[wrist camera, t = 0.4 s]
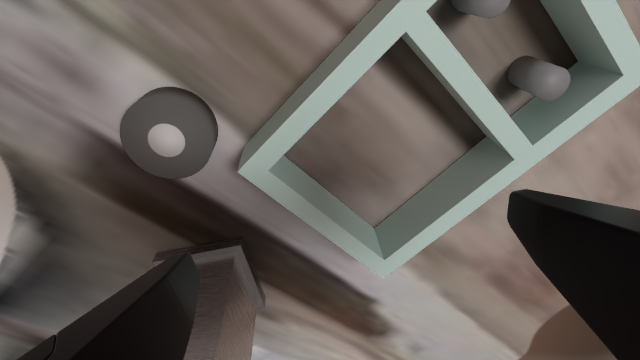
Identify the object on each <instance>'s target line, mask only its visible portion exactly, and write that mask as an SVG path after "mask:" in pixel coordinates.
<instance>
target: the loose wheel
mask: <svg viewBox="0 0 640 360" xmlns="http://www.w3.org/2000/svg"><path fill="white" fill-rule="evenodd" d="M217 137H218V125H217V121H216V118H215V116H214V114H213V112H212V110H211V109H210V107H209V106H208V105H207V104H206V103H205V102H204V101H203V100H202V99H201V98H200V97H198V96H197V95H195V94H194V93H192V92H190V91H187V90H185V89H181V88H177V87H161V88H157V89H154V90H152V91H150V92H148V93H147V94H145V95H144V96H143V97H142V98H140V99H139V100H138V101H137V102H136V103H134V104H133V105H132V106H131V107H130V108H129V109H128V110H127V111H126V113H125V114H124V116H123V118H122V121H121V125H120V138H121V142H122V145H123V147H124V149H125V151H126V153H127V154H128V156H129V157H130V158H131V160H132V161H133V162H134V163H135V164H136V165H138V166H139V167H140V168H142V169H143V170H145V171H146V172H148V173H150V174H153V175H155V176H158V177H162V178H168V179H179V178H185V177H188V176H191V175H193V174H195V173H197V172H198V171H200V170H201V169H202V168H203V167H204V166H205V165H206V163H207V162H208V160H209V158H210V156H211V153H212V151H213V149H214V146H215V144H216V141H217Z"/></svg>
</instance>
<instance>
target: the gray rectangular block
mask: <svg viewBox="0 0 640 360" xmlns="http://www.w3.org/2000/svg"><path fill="white" fill-rule="evenodd" d="M182 252H188V253H190V254H191V256H192V258H193V260H194V262H195V264H196V267H197V269H198V271H199V274H200V288H199V294H198V300H197V306H196V313H195V319H194V324H193V328H192V332H191V336H190V339H189V343H188V346H187V349H186V353H185V356H184V360H251V355H252V345H253V336H254V326H255V317H256V309H258V308H263V307H265V295H264V293H263V290H262V287H261V285H260V282H259V279H258V277H257V274H256V271H255V269H254V266H253V263H252V261H251V258H250V255H249V253H248V250H247V248H246V245H245V242H244V240H243V237H242V236H241V237H236V238H231V239H226V240H221V241H216V242H211V243H206V244H201V245H196V246H191V247H185V248H180V249H175V250H170V251H165V252H160V253H157V254H156V256H155V258H154V260H153V262H152V263H153V265H154V266H155V267H156V266H157V265H159V264H160V263H162V262H163V261H165V260H166V259H168V258H169V257H170V256H172V255H174V254H177V253H182Z"/></svg>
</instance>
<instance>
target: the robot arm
mask: <svg viewBox="0 0 640 360" xmlns="http://www.w3.org/2000/svg"><path fill="white" fill-rule="evenodd" d="M507 219H508V223H509V225H510V227H511V228H512V230H513V231H514V233H515V234H516V236H517V237H518V239H519V240H520V242H521V243H522V245H523V246H524V248H525V249H526V251H527V252H528V254H529V255H530V257H531V258H532V259H533V261H534V262H535V264H536V265H537V266H538V267H539V269H540V270H541V271H542V272H543V273H544V274H545V276H546V277H547V278H548V279H549V280H550V281H551V283H552V284H553V285H554V286H555V287H556V288H557V290H558V291H559V292H560V293H561V294H562V295H563V297H564V298H565V299H566V300H567V301H568V302H569V304H570V305H571V306H572V307H573V308H574V309H575V310H576V312H577V313H578V314H579V315H580V316H581V318H582V319H583V320H584V321H585V322H586V323H587V324H588V325H589V327H590V328H591V329H592V330H593V332H594V333H595V334H596V335H597V336H598V337H599V339H600V340H601V341H602V342H603V343H604V344H605V345H606V347H607V348H608V349H609V350H610V351H611V353H612V354H613V355H614V356H615V357H616V358H617V359H618V360H640V211H639V210H634V209H629V208H624V207H618V206H613V205H608V204H602V203H597V202H592V201H586V200H581V199H576V198H571V197H565V196H560V195H555V194H549V193H544V192H539V191H534V190H528V189H523V190H518V191H513V192H512V193H511V194H510V196H509V204H508V212H507ZM199 288H200V274H199V271H198V269H197V267H196V264H195V262H194V260H193V258H192V256H191V254H190V253H188V252H182V253H177V254H174V255H172V256H170V257H169V258H168V259H166V260H165V261H163V262H162V263H160V264H159V265H157V266H156V267H154V268H153V269H151V270H150V271H148V272H147V273H145V274H144V275H142V276H141V277H139V278H138V279H136V280H135V281H133V282H132V283H130V284H129V285H128V286H126V287H125V288H123V289H122V290H120V291H119V292H117V293H116V294H114V295H113V296H111V297H110V298H108V299H107V300H105V301H104V302H102V303H101V304H99V305H98V306H96V307H95V308H93V309H92V310H90V311H89V312H87V313H86V314H85V315H83V316H82V317H80V318H79V319H77V320H76V321H74V322H73V323H71V324H70V325H68V326H67V327H65V328H64V329H62V330H61V331H59V332H58V333H57V336H56V335H52V336H51V337H49V338H48V339H46V340H45V341H44V342H42V343H41V344H39V345H38V346H36V347H35V348H33V349H31V350H30V351H28V352H27V353H25V354H24V355H22V356H21V357H19V358H18V359H16V360H184V356H185V353H186V349H187V346H188V343H189V339H190V336H191V332H192V328H193V324H194V319H195V313H196V306H197V300H198V294H199Z"/></svg>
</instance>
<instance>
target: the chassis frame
mask: <svg viewBox="0 0 640 360" xmlns="http://www.w3.org/2000/svg"><path fill="white" fill-rule="evenodd" d="M436 1H437V0H380V1H379V2H378V3H377V4H376V5H375V6H374V7H373V8H372V9H371V11H370V12H369V13H368V14H367V15H366V16H365V17H364V18H363V19H362V20H361V21H360V22H359V23H358V25H357V26H356V27H355V28H354V29H353V30H352V31H351V32H350V33H349V34H348V35H347V36H346V37H345V38H344V40H343V41H342V42H341V43H340V44H339V45H338V46H337V47H336V48H335V49H334V50H333V51H332V52H331V53H330V55H329V56H328V57H327V58H326V59H325V60H324V61H323V62H322V63H321V64H320V65H319V66H318V67H317V68H316V70H315V71H314V72H313V73H312V74H311V75H310V76H309V77H308V78H307V79H306V80H305V81H304V82H303V84H302V85H301V86H300V87H299V88H298V89H297V90H296V91H295V92H294V93H293V94H292V95H291V96H290V97H289V99H288V100H287V101H286V102H285V103H284V104H283V105H282V106H281V107H280V108H279V109H278V110H277V111H276V112H275V114H274V115H273V116H272V117H271V118H270V119H269V120H268V121H267V122H266V123H265V124H264V125H263V126H262V128H261V129H260V130H259V131H258V132H257V133H256V134H255V135H254V136H253V137H252V138H251V139H250V140H249V141H248V143H247V144H246V145H245V146H244V148H243V152H242V156H241V159H240V163H239V167H238V170H237V172H238V173H239V174H240V175H242V176H243V177H244V178H246V179H247V180H248V181H250V182H251V183H253V184H254V185H255V186H257V187H258V188H259V189H261V190H262V191H263V192H265V193H266V194H267V195H269V196H270V197H272V198H273V199H274V200H276V201H277V202H278V203H280V204H281V205H282V206H284V207H285V208H286V209H288V210H289V211H291V212H292V213H293V214H295V215H296V216H297V217H299V218H300V219H301V220H303V221H304V222H305V223H307V224H308V225H310V226H311V227H312V228H314V229H315V230H316V231H318V232H319V233H320V234H322V235H323V236H324V237H326V238H327V239H329V240H330V241H331V242H333V243H334V244H335V245H337V246H338V247H339V248H341V249H342V250H343V251H345V252H346V253H348V254H349V255H350V256H352V257H353V258H354V259H356V260H357V261H358V262H360V263H361V264H363V265H364V266H365V267H367V268H368V269H369V270H371V271H372V272H373V273H375V274H376V275H377V276H379V277H380V278H382V279H384V278H385V277H386V276H388V275H389V274H390V273H392V272H393V271H394V270H396V269H397V268H398V267H400V266H401V265H402V264H404V263H405V262H406V261H408V260H409V259H410V258H412V257H413V256H414V255H416V254H417V253H418V252H420V251H421V250H422V249H424V248H425V247H426V246H428V245H429V244H430V243H432V242H433V241H434V240H436V239H437V238H438V237H440V236H441V235H442V234H443V233H445V232H446V231H447V230H449V229H450V228H451V227H453V226H454V225H455V224H457V223H458V222H459V221H461V220H462V219H463V218H465V217H466V216H467V215H469V214H470V213H471V212H473V211H474V210H475V209H477V208H478V207H479V206H481V205H482V204H483V203H485V202H486V201H487V200H489V199H490V198H491V197H493V196H494V195H495V194H497V193H498V192H499V191H501V190H502V189H503V188H505V187H506V186H507V185H509V184H510V183H511V182H513V181H514V180H515V179H516V178H518V177H519V176H520V175H522V174H523V173H524V172H526V171H527V170H528V169H530V168H531V167H532V166H534V165H535V164H536V163H538V162H539V161H540V160H542V159H543V158H544V157H546V156H547V155H548V154H550V153H551V152H552V151H554V150H555V149H556V148H558V147H559V146H560V145H562V144H563V143H564V142H566V141H567V140H568V139H570V138H571V137H572V136H574V135H575V134H576V133H578V132H579V131H580V130H582V129H583V128H584V127H585V126H587V125H588V124H589V123H591V122H592V121H593V120H595V119H596V118H597V117H599V116H600V115H601V114H603V113H604V112H605V111H607V110H608V109H609V108H611V107H612V106H613V105H615V104H616V103H617V102H619V101H620V100H621V99H623V98H624V97H625V96H627V95H628V94H629V93H631V92H632V91H633V90H635V89H636V88H637V87H639V86H640V45H639V43H638V42H637V40H636V38H635V36H634V34H633V32H632V30H631V28H630V26H629V24H628V23H627V21H626V19H625V17H624V15H623V13H622V11H621V9H620V7H619V5H618V4H617V2H616V0H540V2H541V3H542V5H543V6H544V8H545V9H546V11H547V13H548V14H549V16H550V17H551V19H552V21H553V22H554V24H555V25H556V27H557V29H558V30H559V32H560V33H561V35H562V36H563V38H564V40H565V41H566V43H567V44H568V46H569V48H570V49H571V51H572V52H573V54H574V56H575V57H576V59H577V60H578V62H577V63H575V64H574V65H573V66H572V67H570V68H569V69H568V70H566V69H565V68H562V67H559V66H557V65H554V64H551V63H548V62H545V61H542V60H539V59H537V58H534V57H531V56H523V57H520V58H518V59H517V60H515V61H514V62H513V63H512V65H511V66H510V68H509V70H508V80H509V82H510V83H511V84H512V85H514V86H516V87H518V88H520V89H522V90H524V91H526V92H528V93H530V94H532V95H534V96H535V97H534V98H533V99H531V100H530V101H529V102H528V103H527V104H525V105H524V106H523V107H522V108H520V109H519V110H518V111H517V112H516V113H514V114H513V115H512V116H511V117H510V116H509V115H508V114H507V113H506V111H505V110H504V109H503V108H502V106H501V105H500V104H499V103H498V101H497V100H496V99H495V98H494V96H493V95H492V94H491V92H490V91H489V90H488V89H487V87H486V86H485V85H484V84H483V82H482V81H481V80H480V79H479V77H478V76H477V75H476V74H475V72H474V71H473V70H472V69H471V67H470V66H469V65H468V64H467V62H466V61H465V60H464V59H463V57H462V56H461V55H460V54H459V52H458V51H457V50H456V49H455V47H454V46H453V45H452V44H451V42H450V41H449V40H448V38H447V37H446V36H445V35H444V33H443V32H442V31H441V30H440V28H439V27H438V26H437V25H436V23H435V22H434V21H433V20H432V18H431V17H430V16H429V15H428V13H427V12H426V11H427V10H428V9H429V8H430V7H431V6H432V5H433V4H434V3H435V2H436ZM510 1H511V0H451V4H452V6H453V7H454V9H456V10H457V11H459V12H463V13H467V14H471V15H476V16H480V17H484V18H493V17H496V16H498V15H500V14H501V13H502V12H504V11H505V9H506V8H507V7H508V5H509V3H510ZM400 37H402V39H403V40H404V41H405V42H406V43H407V44H408V46H409V47H410V48H411V49H412V50H413V51H414V53H415V54H416V55H417V56H418V57H419V58H420V60H421V61H422V62H423V63H424V64H425V65H426V67H427V68H428V69H429V70H430V71H431V72H432V73H433V75H434V76H435V77H436V78H437V79H438V80H439V82H440V83H441V84H442V85H443V86H444V87H445V89H446V90H447V91H448V92H449V93H450V94H451V96H452V97H453V98H454V99H455V100H456V101H457V103H458V104H459V105H460V106H461V107H462V108H463V109H464V111H465V112H466V113H467V114H468V115H469V116H470V118H471V119H472V120H473V121H474V122H475V123H476V125H477V126H478V127H479V128H480V129H481V130H482V132H483V133H484V134H485V135H486V137H485V138H484V139H483V140H481V141H480V142H479V143H478V144H476V145H475V146H474V147H473V148H472V149H470V150H469V151H468V152H467V153H465V154H464V155H463V156H462V157H461V158H459V159H458V160H457V161H456V162H454V163H453V164H452V165H451V166H450V167H448V168H447V169H446V170H445V171H444V172H442V173H441V174H440V175H439V176H437V177H436V178H435V179H434V180H433V181H431V182H430V183H429V184H428V185H426V186H425V187H424V188H423V189H422V190H420V191H419V192H418V193H417V194H415V195H414V196H413V197H412V198H411V199H409V200H408V201H407V202H406V203H404V204H403V205H402V206H401V207H400V208H398V209H397V210H396V211H395V212H393V213H392V214H391V215H390V216H389V217H387V218H386V219H385V220H384V221H382V222H381V223H380V224H379V225H378V226H376V227H375V228H373V227H372V226H371V225H369V224H368V223H367V222H366V221H364V220H363V219H362V218H361V217H359V216H358V215H357V214H356V213H354V212H353V211H352V210H351V209H349V208H348V207H347V206H346V205H345V204H343V203H342V202H341V201H340V200H338V199H337V198H336V197H335V196H333V195H332V194H331V193H330V192H328V191H327V190H326V189H325V188H323V187H322V186H321V185H320V184H318V183H317V182H316V181H315V180H314V179H312V178H311V177H310V176H309V175H307V174H306V173H305V172H304V171H302V170H301V169H300V168H299V167H297V166H296V165H295V164H294V163H292V162H291V161H290V160H289V159H288V158H286V157H285V156H284V154H285V153H286V152H287V151H288V150H289V149H290V148H291V147H292V146H293V145H294V144H295V143H296V142H297V141H298V140H299V139H300V138H301V137H302V136H303V135H304V134H305V133H306V132H307V131H308V130H309V129H310V128H311V127H312V126H313V125H314V124H315V123H316V122H317V121H318V120H319V119H320V118H321V117H322V116H323V115H324V114H325V113H326V112H327V111H328V110H329V109H330V108H331V107H332V106H333V105H334V104H335V103H336V102H337V101H338V100H339V98H340V97H341V96H342V95H343V94H344V93H345V92H346V91H347V90H348V89H349V88H350V87H351V86H352V85H353V84H354V83H355V82H356V81H357V80H358V79H359V78H360V77H361V76H362V75H363V74H364V73H365V72H366V71H367V70H368V69H369V68H370V67H371V66H372V65H373V64H374V63H375V62H376V61H377V60H378V59H379V58H380V57H381V56H382V55H383V54H384V53H385V52H386V51H387V50H388V49H389V48H390V47H391V46H392V45H393V44H394V43H395V42H396V41H397V40H398V39H399V38H400Z"/></svg>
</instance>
